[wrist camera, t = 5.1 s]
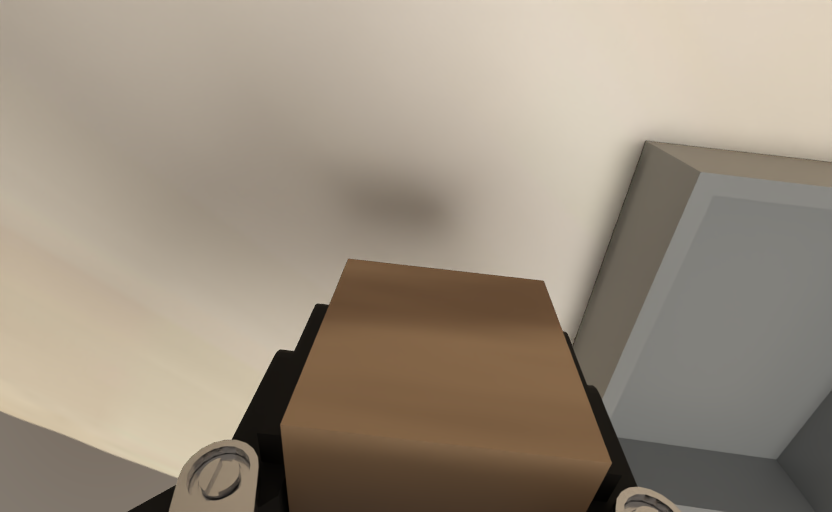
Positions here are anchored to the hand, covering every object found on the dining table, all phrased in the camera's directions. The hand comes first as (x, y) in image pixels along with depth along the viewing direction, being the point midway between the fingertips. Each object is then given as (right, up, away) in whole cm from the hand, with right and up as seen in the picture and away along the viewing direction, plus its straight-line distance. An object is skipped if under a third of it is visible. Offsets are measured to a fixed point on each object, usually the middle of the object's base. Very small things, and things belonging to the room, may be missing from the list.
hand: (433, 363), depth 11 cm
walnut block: (0, 0, +1) cm, 1 cm away
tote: (+17, -1, +13) cm, 21 cm away
